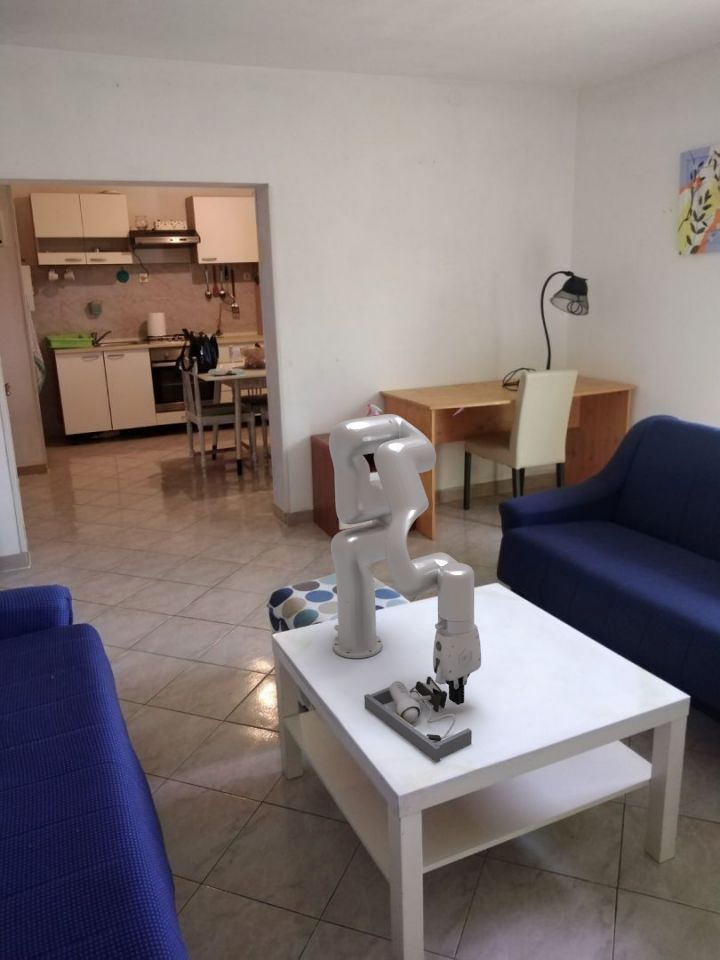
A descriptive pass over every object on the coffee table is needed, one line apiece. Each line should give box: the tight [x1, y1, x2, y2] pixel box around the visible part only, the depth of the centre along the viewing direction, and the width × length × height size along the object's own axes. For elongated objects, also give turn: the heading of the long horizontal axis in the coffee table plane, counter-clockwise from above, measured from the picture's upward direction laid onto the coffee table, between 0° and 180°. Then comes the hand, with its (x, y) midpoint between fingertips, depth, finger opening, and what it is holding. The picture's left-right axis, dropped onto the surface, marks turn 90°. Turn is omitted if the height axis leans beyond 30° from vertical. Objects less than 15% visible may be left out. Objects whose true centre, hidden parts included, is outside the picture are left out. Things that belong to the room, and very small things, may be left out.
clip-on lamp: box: [389, 676, 456, 742], centre depth 153 cm, size 12×6×18 cm
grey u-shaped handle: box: [363, 686, 473, 764], centre depth 151 cm, size 24×10×3 cm, turn 34°
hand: (456, 701), depth 156 cm, fingers closed
